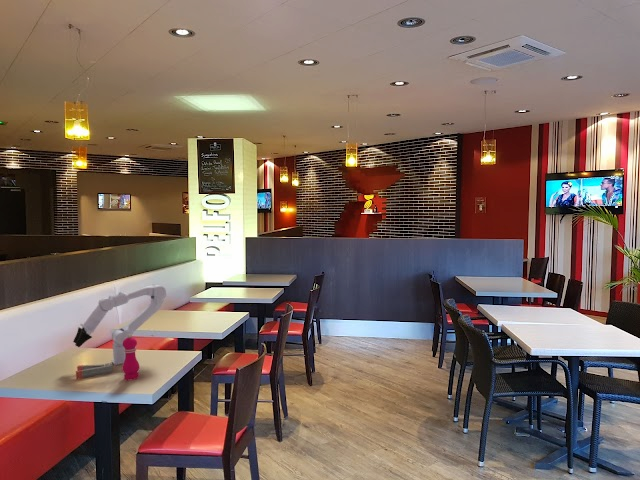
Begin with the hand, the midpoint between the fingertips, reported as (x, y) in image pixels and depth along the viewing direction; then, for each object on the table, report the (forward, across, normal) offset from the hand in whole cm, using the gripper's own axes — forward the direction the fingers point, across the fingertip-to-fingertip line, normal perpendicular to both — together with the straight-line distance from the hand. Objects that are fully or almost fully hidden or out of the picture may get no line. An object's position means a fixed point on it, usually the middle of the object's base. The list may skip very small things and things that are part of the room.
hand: (76, 344), depth 234 cm
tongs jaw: (+6, +8, +12) cm, 15 cm away
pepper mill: (-2, +28, +23) cm, 36 cm away
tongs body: (+6, +12, +12) cm, 18 cm away
